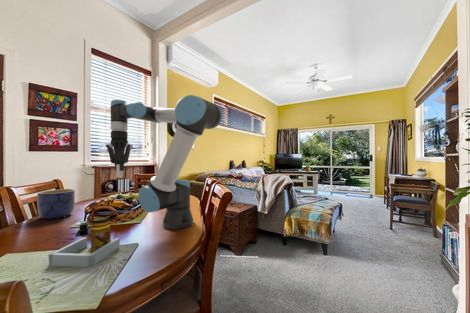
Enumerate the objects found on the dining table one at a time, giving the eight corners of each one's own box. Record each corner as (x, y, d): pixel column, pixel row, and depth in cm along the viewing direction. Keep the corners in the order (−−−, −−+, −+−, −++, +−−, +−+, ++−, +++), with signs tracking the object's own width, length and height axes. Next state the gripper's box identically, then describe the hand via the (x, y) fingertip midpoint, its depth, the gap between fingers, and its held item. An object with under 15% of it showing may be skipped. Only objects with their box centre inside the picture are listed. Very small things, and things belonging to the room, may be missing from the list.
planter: (37, 216, 120) (37, 191, 120) (73, 211, 132) (73, 188, 132) (37, 223, 108) (36, 194, 108) (76, 216, 119) (76, 191, 119)
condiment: (105, 254, 73) (105, 221, 73) (80, 256, 72) (79, 222, 72) (115, 245, 80) (115, 215, 80) (92, 247, 79) (92, 216, 79)
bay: (119, 247, 79) (119, 238, 79) (91, 266, 65) (91, 255, 65) (84, 246, 80) (84, 237, 80) (48, 265, 66) (48, 254, 66)
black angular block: (91, 236, 91) (91, 226, 91) (71, 239, 88) (71, 229, 88) (94, 228, 102) (94, 218, 102) (76, 230, 98) (76, 221, 98)
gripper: (135, 131, 108) (135, 176, 108) (111, 132, 109) (112, 176, 109) (127, 130, 101) (127, 177, 101) (101, 130, 101) (102, 177, 102)
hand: (119, 177), depth 105 cm, fingers closed
